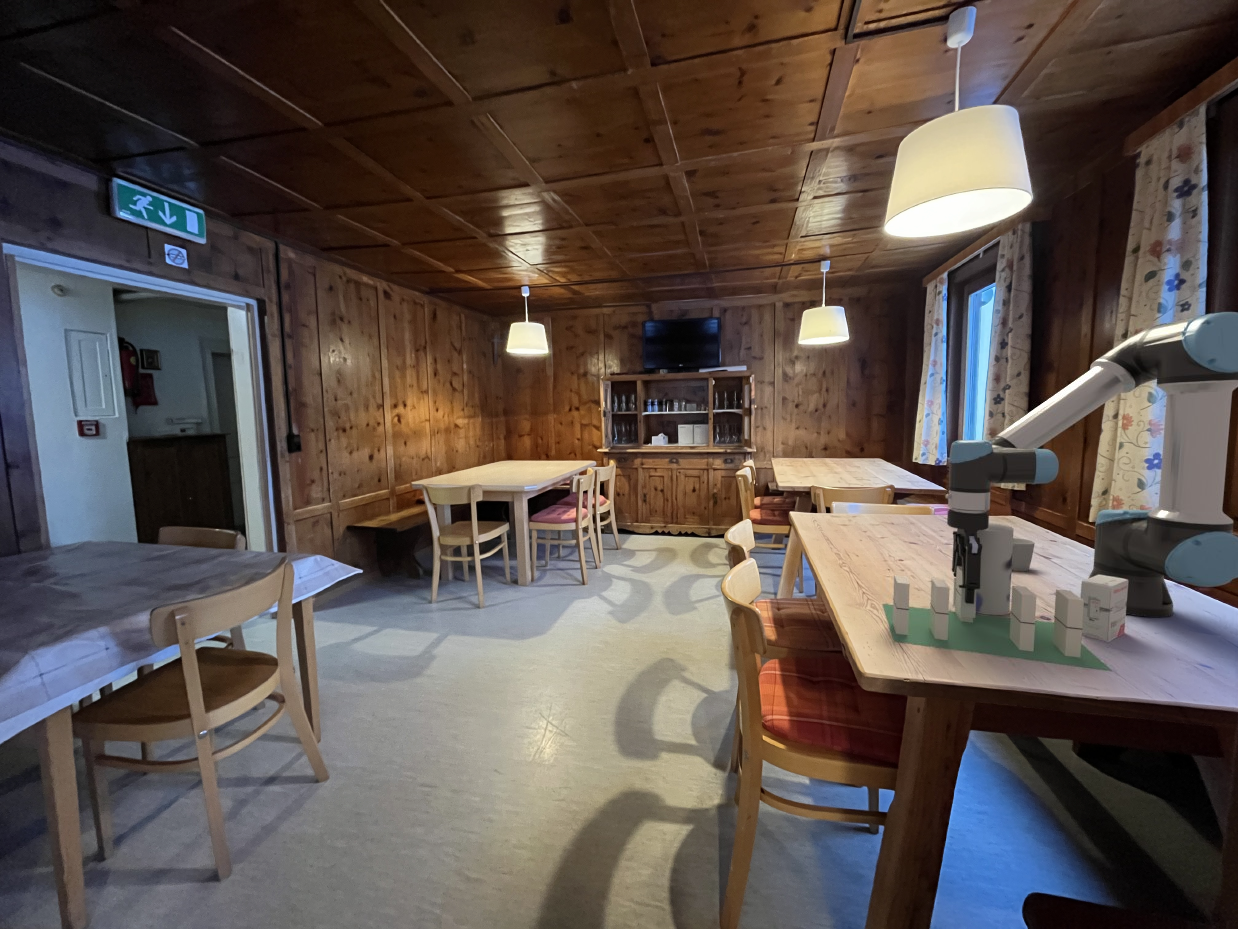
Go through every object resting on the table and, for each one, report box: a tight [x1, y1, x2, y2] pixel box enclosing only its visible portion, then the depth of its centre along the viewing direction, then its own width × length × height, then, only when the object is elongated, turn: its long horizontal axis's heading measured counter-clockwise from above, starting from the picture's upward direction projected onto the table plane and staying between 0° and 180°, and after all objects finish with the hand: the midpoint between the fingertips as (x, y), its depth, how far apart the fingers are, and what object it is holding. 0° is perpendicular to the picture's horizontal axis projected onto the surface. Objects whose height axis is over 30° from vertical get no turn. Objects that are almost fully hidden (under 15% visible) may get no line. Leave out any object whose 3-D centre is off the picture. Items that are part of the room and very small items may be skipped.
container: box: [975, 522, 1014, 616], centre depth 116 cm, size 10×10×20 cm
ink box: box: [1080, 575, 1128, 643], centre depth 101 cm, size 9×5×12 cm, turn 118°
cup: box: [1011, 537, 1036, 572], centre depth 145 cm, size 8×10×8 cm
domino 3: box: [954, 566, 973, 622], centre depth 111 cm, size 2×6×11 cm, turn 157°
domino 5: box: [1053, 589, 1084, 658], centre depth 94 cm, size 2×6×11 cm, turn 157°
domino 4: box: [1010, 585, 1037, 651], centre depth 97 cm, size 2×6×11 cm, turn 157°
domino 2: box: [929, 578, 950, 640], centre depth 102 cm, size 2×6×11 cm, turn 157°
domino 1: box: [892, 574, 911, 635], centre depth 105 cm, size 2×6×11 cm, turn 157°
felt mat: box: [882, 603, 1113, 672], centre depth 103 cm, size 34×22×1 cm, turn 67°
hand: (963, 611), depth 111 cm, fingers closed on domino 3, 5 cm apart
